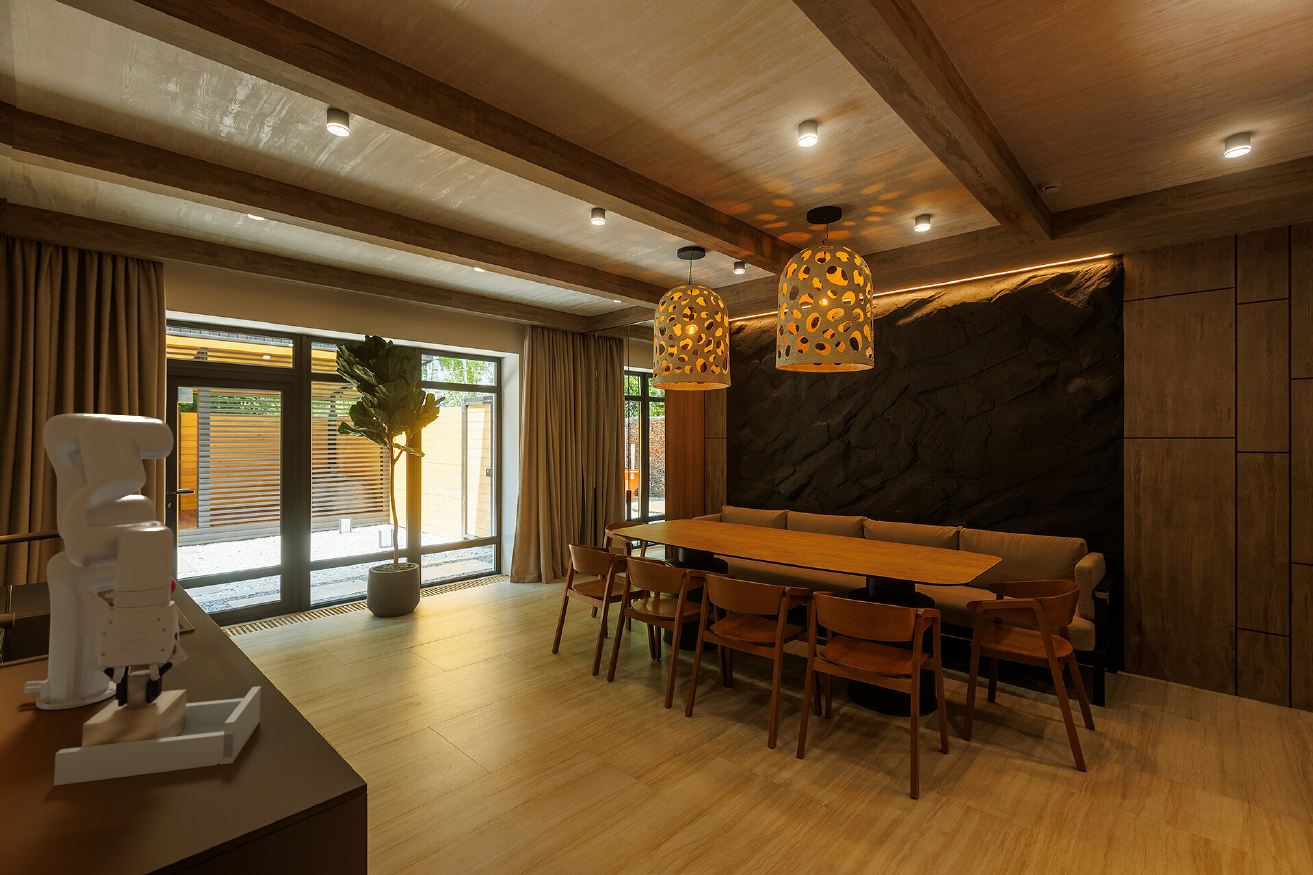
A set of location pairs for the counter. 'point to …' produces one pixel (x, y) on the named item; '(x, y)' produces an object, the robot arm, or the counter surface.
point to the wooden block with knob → (137, 716)
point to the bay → (169, 744)
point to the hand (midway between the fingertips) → (138, 700)
